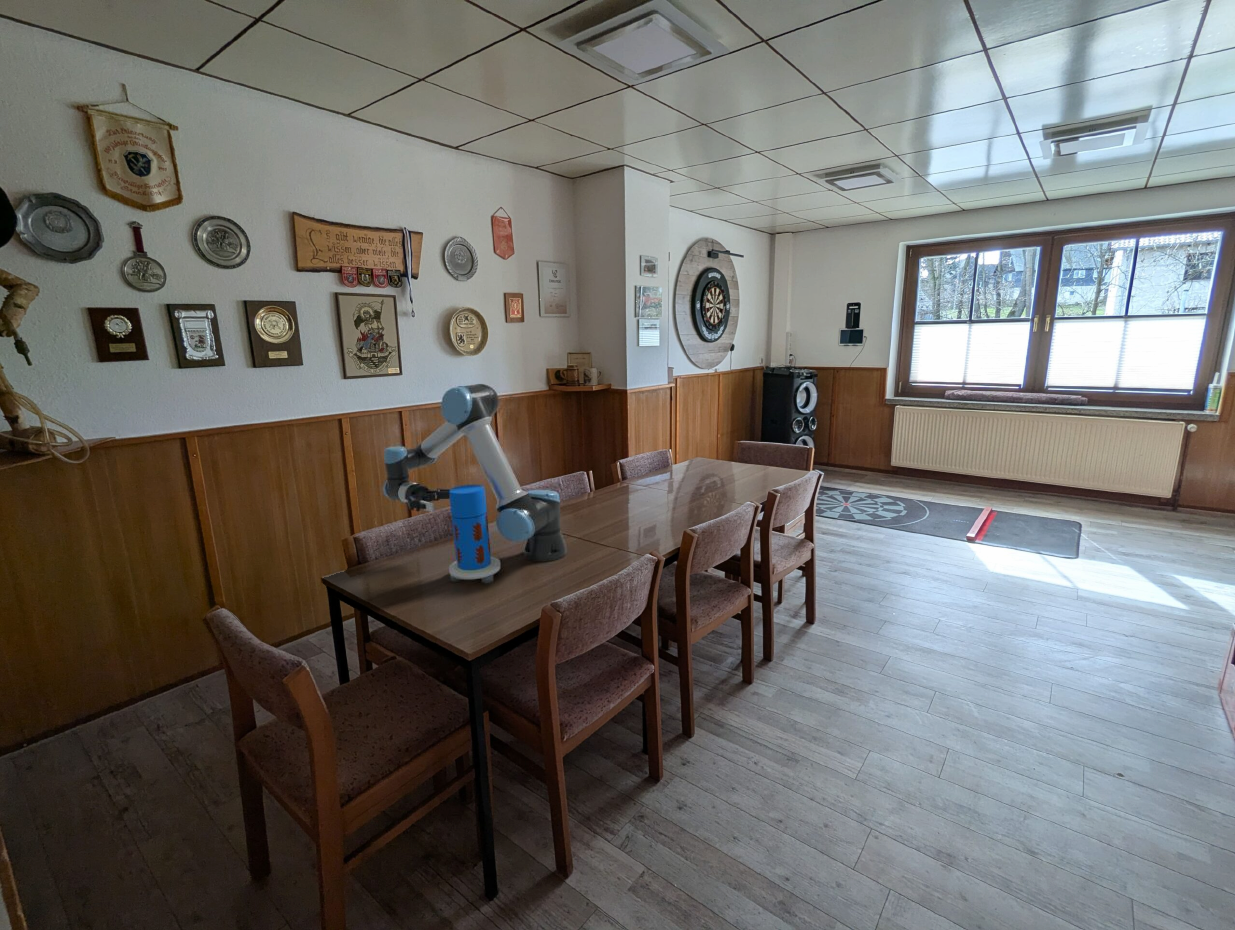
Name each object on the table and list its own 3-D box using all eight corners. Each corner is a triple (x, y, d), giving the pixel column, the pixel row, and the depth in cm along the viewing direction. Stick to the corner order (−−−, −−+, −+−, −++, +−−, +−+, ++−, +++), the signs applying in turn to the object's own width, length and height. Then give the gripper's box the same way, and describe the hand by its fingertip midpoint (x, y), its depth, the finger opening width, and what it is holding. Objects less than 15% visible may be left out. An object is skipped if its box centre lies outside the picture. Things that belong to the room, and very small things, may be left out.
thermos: (494, 556, 189) (487, 483, 184) (488, 569, 179) (480, 492, 173) (461, 558, 189) (453, 485, 183) (453, 571, 179) (444, 494, 173)
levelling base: (441, 585, 178) (440, 573, 177) (462, 565, 194) (461, 554, 193) (490, 588, 176) (489, 575, 175) (507, 567, 191) (507, 556, 190)
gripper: (445, 496, 211) (482, 504, 198) (382, 513, 192) (418, 523, 179) (443, 476, 209) (480, 483, 196) (379, 491, 190) (415, 500, 177)
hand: (451, 502), depth 187 cm, fingers open, 13 cm apart
